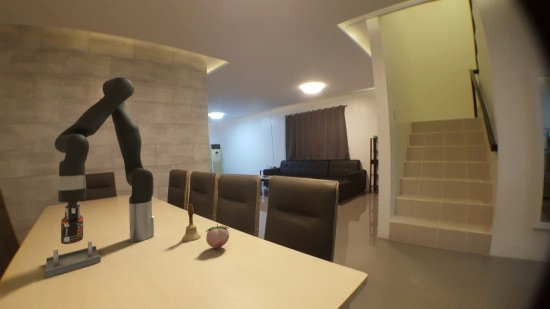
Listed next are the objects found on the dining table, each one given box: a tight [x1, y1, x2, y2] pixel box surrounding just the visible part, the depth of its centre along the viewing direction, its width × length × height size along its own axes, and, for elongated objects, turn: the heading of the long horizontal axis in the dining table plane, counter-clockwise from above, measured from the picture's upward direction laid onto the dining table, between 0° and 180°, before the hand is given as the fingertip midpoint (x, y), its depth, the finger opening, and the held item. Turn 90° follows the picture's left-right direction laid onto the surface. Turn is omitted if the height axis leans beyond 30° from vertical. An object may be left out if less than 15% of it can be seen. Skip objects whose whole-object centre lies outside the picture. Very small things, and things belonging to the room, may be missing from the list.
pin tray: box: [44, 241, 102, 279], centre depth 78 cm, size 14×14×6 cm
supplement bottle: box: [60, 209, 84, 245], centre depth 78 cm, size 6×6×11 cm
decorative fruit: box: [205, 223, 230, 249], centre depth 88 cm, size 9×8×10 cm
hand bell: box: [181, 203, 202, 242], centre depth 100 cm, size 8×8×16 cm
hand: (72, 233), depth 79 cm, fingers closed on supplement bottle, 6 cm apart
